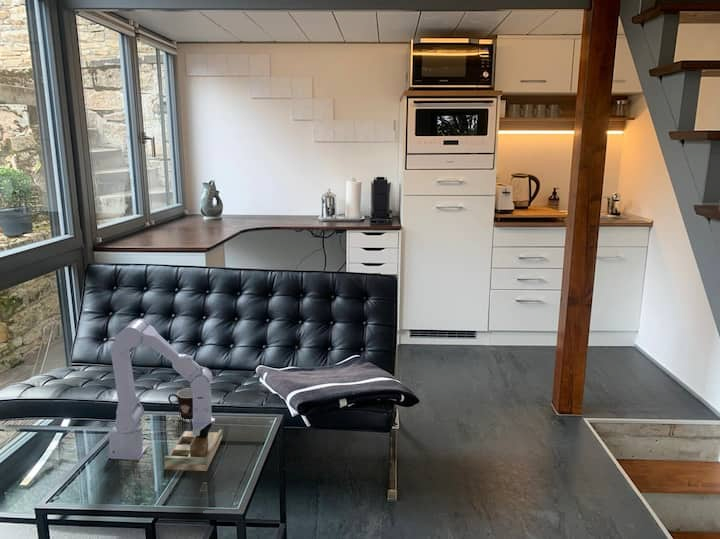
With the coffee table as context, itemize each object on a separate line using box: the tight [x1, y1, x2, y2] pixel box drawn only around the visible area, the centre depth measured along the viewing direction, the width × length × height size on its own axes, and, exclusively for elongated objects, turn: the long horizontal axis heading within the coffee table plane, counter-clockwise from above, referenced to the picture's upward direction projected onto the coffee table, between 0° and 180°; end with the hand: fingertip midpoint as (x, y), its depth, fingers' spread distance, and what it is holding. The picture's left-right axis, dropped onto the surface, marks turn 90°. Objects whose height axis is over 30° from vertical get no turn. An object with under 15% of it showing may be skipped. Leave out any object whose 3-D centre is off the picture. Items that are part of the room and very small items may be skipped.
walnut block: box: [190, 437, 208, 457], centre depth 172 cm, size 4×4×4 cm
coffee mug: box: [167, 387, 193, 420], centre depth 199 cm, size 12×9×10 cm
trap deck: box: [163, 429, 223, 472], centre depth 177 cm, size 13×20×4 cm, turn 0°
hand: (202, 445), depth 176 cm, fingers closed
